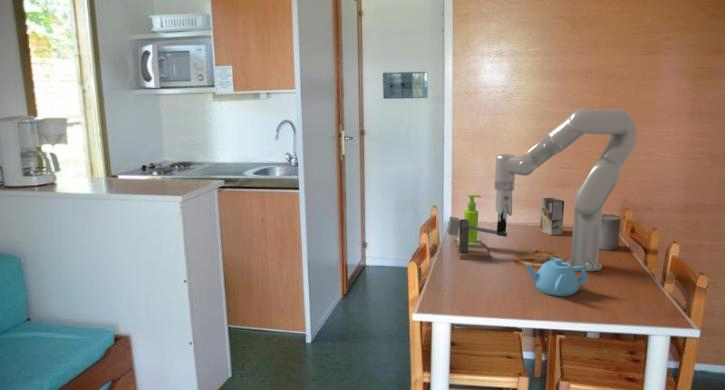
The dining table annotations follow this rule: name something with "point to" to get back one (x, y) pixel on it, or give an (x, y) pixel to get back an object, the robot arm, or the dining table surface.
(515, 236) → the dining table surface
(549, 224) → the coffee box
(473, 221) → the soap dispenser
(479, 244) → the base
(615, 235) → the pillar candle
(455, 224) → the lever
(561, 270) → the teapot
